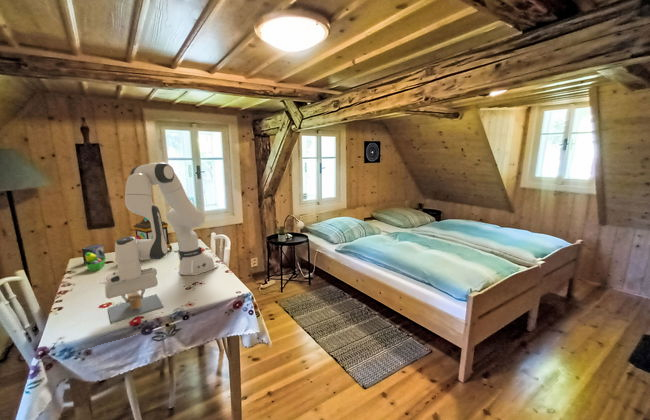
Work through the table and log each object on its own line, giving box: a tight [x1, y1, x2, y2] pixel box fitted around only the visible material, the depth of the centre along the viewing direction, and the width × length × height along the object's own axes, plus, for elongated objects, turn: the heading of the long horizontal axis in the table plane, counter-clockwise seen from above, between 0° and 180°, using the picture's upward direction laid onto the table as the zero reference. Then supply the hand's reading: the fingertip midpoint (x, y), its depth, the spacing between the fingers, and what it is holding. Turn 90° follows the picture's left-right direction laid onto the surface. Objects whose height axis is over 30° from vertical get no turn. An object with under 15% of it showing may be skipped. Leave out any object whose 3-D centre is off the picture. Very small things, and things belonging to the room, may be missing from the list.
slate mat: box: [107, 293, 164, 324], centre depth 135 cm, size 20×16×1 cm
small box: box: [81, 243, 106, 264], centre depth 198 cm, size 11×6×10 cm, turn 168°
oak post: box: [126, 291, 142, 310], centre depth 134 cm, size 4×4×12 cm
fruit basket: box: [85, 252, 106, 272], centre depth 185 cm, size 11×9×11 cm
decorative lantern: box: [132, 217, 173, 251], centre depth 213 cm, size 20×20×30 cm
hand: (134, 300), depth 134 cm, fingers closed on oak post, 4 cm apart
